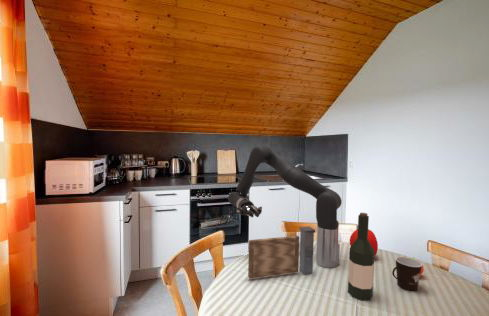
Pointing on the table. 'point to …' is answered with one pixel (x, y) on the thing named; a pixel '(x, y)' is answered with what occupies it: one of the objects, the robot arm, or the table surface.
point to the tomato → (371, 239)
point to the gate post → (306, 250)
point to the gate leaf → (273, 256)
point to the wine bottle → (361, 263)
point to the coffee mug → (407, 273)
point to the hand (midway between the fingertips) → (255, 215)
